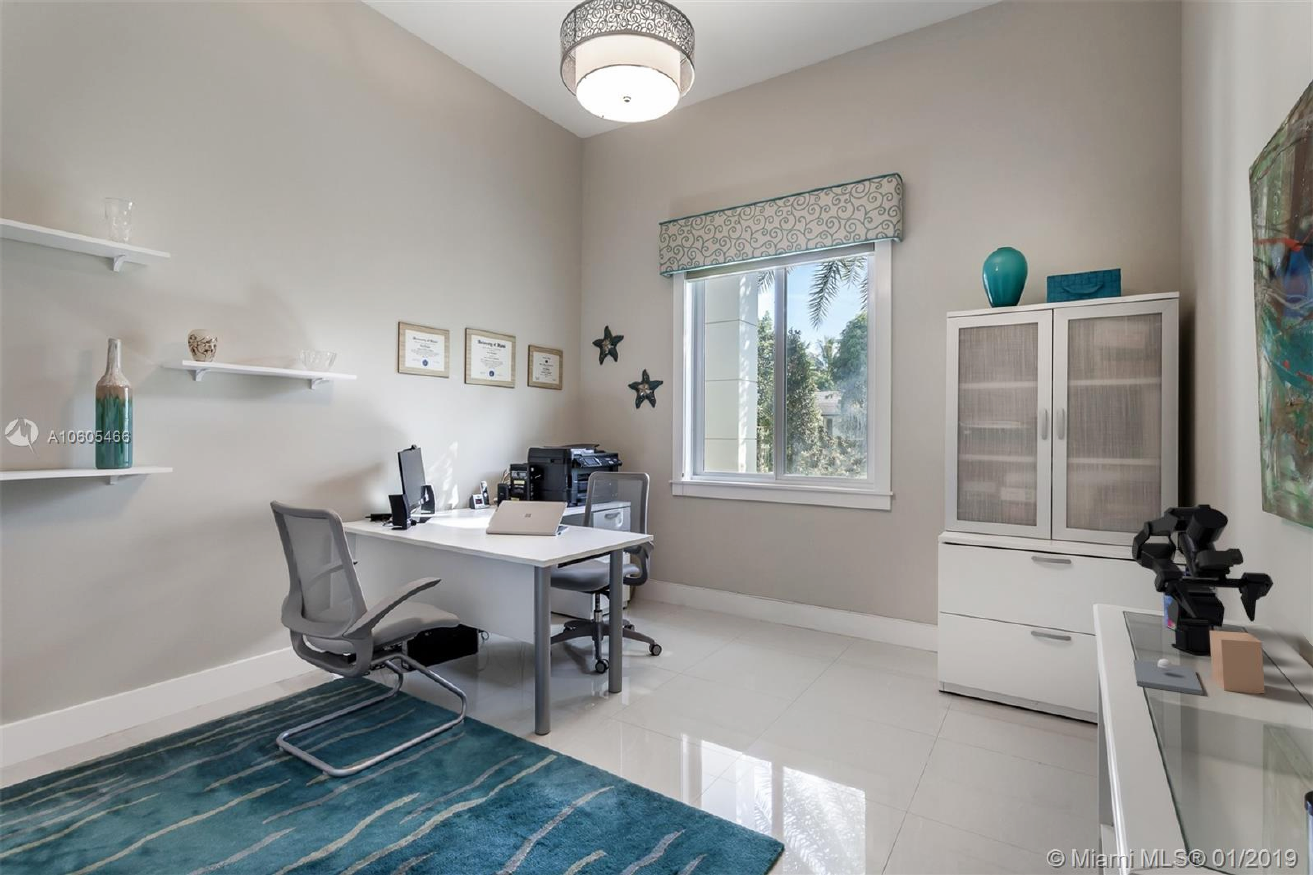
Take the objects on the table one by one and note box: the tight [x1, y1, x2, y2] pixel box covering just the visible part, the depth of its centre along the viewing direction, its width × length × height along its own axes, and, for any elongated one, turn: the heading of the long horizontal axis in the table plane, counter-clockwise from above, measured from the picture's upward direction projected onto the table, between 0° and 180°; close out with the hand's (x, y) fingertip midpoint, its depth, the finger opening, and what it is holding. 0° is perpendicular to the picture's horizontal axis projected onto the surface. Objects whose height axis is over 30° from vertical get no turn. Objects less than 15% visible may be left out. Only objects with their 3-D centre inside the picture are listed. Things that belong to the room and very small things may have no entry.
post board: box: [1133, 658, 1203, 696], centre depth 128 cm, size 14×10×4 cm
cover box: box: [1210, 630, 1265, 695], centre depth 122 cm, size 6×6×10 cm
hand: (1223, 618), depth 128 cm, fingers open, 9 cm apart
